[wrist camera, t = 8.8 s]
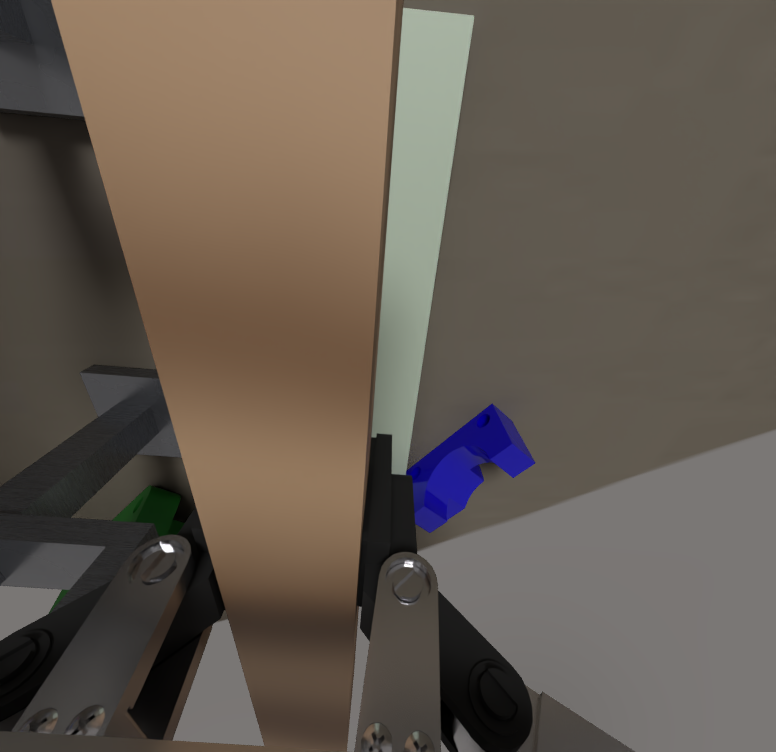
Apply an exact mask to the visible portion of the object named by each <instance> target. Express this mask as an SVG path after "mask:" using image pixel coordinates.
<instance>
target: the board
mask: <svg viewBox="0 0 776 752" xmlns="http://www.w3.org/2000/svg"><path fill="white" fill-rule="evenodd" d="M473 21H474V16H472V15H463V14H454V13H445V12H436V11H427V10H418V9H409V8H403V16H402V30H401V43H400V57H399V70H398V84H397V97H396V111H395V124H394V138H393V151H392V165H391V178H390V192H389V205H388V219H387V232H386V246H385V259H384V273H383V286H382V300H381V313H380V327H379V340H378V354H377V367H376V381H375V394H374V408H373V421H372V435H371V437H376V436H377V433H379V434H391V435H392V474H400V475H406V470H407V463H408V456H409V450H410V443H411V436H412V429H413V423H414V416H415V409H416V403H417V396H418V389H419V383H420V376H421V369H422V363H423V356H424V349H425V343H426V336H427V329H428V322H429V316H430V309H431V302H432V296H433V289H434V282H435V276H436V269H437V262H438V256H439V249H440V242H441V235H442V229H443V222H444V215H445V209H446V202H447V195H448V189H449V182H450V175H451V169H452V162H453V155H454V149H455V142H456V135H457V128H458V122H459V115H460V108H461V102H462V95H463V88H464V82H465V75H466V68H467V62H468V55H469V48H470V41H471V35H472V28H473Z"/></svg>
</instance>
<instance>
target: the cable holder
mask: <svg viewBox="0 0 776 752" xmlns="http://www.w3.org/2000/svg"><path fill="white" fill-rule="evenodd" d="M488 462H492V463H495V464H496V465H498V466H499V467H500V468H501V469H503V470H504V471H505V472H506V473H508V474H509V475H510V476H511V477H513V478H514V477H515V476H517V475H518V474H520V473H521V472H523V471H524V470H526V469H527V468H529V467H530V466H532V465H533V464H535V461H534V460H533V458H532V456H531V454H530V452H529V451H528V449H527V447H526V445H525V443H524V442H523V440H522V438H521V436H520V434H519V433H518V431H517V429H516V427H515V425H514V424H513V422H512V421H511V420H510V419H509V418H508V417H507V416H506V415H505V414H504V413H502V412H501V411H500V410H499V409H498V408H497V407H496V406H494V405H493V404H491V405H490V406H488V407H487V408H486V409H485V410H483V411H482V412H481V413H479V414H478V415H477V416H476V417H474V418H473V419H472V420H471V421H469V422H468V423H467V424H465V425H464V426H463V427H462V428H460V429H459V430H458V431H457V432H455V433H454V434H453V435H452V436H450V437H449V438H448V439H446V440H445V441H444V442H443V443H441V444H440V445H439V446H438V447H436V448H435V449H434V450H432V451H431V452H430V453H429V454H427V455H426V456H425V457H424V458H422V459H421V460H420V461H418V462H417V463H416V464H415V465H413V466H412V467H411V468H410V469H408V470H407V471H406V475H412V480H413V495H414V511H415V524H416V525H418V526H420V527H421V528H423V529H424V530H426V531H428V532H429V533H431V532H432V531H434V530H435V529H437V528H438V527H440V526H441V525H443V524H444V523H446V522H447V520H448V519H449V518H451V517H452V516H454V515H455V514H457V513H458V512H460V511H461V510H463V509H464V508H465V506H466V504H467V501H468V499H469V497H470V496H471V494H472V493H473V491H474V490H475V489H476V488H477V487H478V486H479V485H480V484H481V483H482V482H483V481H484V478H483V475H482V472H481V469H480V467H479V466H478V465H479V464H482V463H488Z"/></svg>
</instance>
